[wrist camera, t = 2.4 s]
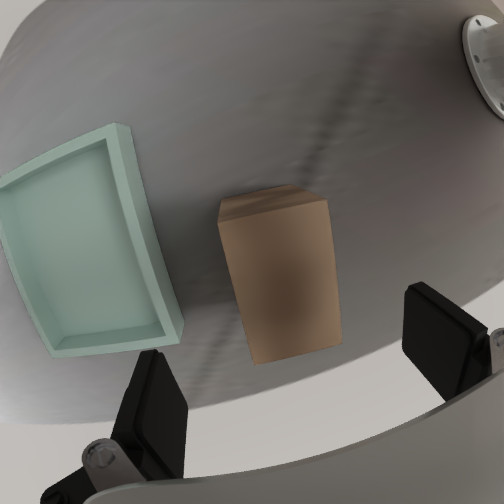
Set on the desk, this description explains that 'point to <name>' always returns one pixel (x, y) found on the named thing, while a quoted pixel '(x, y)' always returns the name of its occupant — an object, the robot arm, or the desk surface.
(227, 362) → the desk surface
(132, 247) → the tray
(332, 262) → the walnut block
